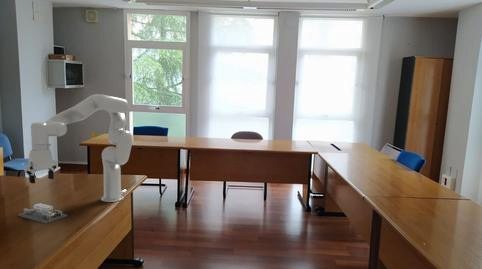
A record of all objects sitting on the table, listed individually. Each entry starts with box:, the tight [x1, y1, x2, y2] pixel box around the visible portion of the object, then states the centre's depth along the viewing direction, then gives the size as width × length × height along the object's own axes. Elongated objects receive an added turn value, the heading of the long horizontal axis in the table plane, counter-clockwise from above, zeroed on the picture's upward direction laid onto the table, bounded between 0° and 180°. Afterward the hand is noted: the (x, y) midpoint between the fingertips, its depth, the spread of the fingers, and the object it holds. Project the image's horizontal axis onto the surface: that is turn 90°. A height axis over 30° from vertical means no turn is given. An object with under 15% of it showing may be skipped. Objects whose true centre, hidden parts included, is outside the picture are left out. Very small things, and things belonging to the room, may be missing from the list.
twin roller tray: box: [23, 207, 63, 220], centre depth 174 cm, size 7×20×2 cm, turn 64°
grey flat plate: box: [17, 212, 68, 224], centre depth 174 cm, size 12×21×1 cm, turn 64°
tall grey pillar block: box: [33, 202, 54, 217], centre depth 174 cm, size 4×10×5 cm, turn 64°
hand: (41, 180), depth 172 cm, fingers open, 9 cm apart
